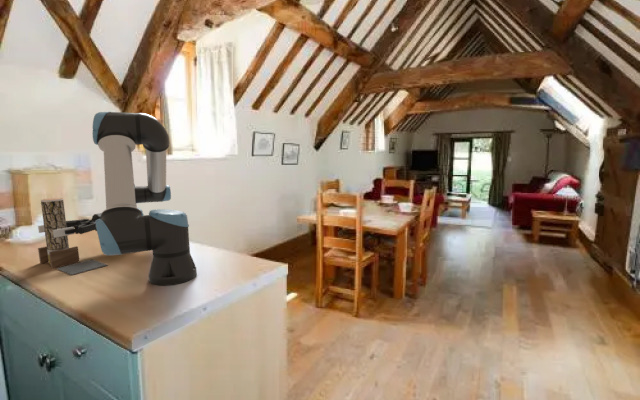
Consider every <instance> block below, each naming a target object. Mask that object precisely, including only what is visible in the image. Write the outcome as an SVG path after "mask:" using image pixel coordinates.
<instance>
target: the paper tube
mask: <svg viewBox="0 0 640 400" xmlns="http://www.w3.org/2000/svg"><path fill="white" fill-rule="evenodd" d="M40 204H41V206H40V207H41V212H42V220H43V221H42V222H43V225H44V230H45V232H44V236H45V245H46V246H47V253H48V260H49V262H48V264H49V265H51V263H50V255H49V252H53V251H57V250H62V249H67V248H70V245H69V235H66V236H61V237H55V238H54V235H53V230H57V229H63V228H67V227H66V221H67V220H66V211H65V203H64V197H50V198H42V199H40Z"/></svg>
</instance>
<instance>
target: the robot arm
mask: <svg viewBox="0 0 640 400" xmlns="http://www.w3.org/2000/svg"><path fill="white" fill-rule="evenodd" d="M92 140H93V141H92V142H93V143H94V144H95V145H97V146H98V148H99V150H101V151H102V152H103V166H104V167H103V168H104V171H103V172H104V188H105V190H104V191H105V192H104V193H105V209H104V210H102V212H99V213H94V214H93V215H92V217H91V219H89V218H82V219H74V220H73V219H72V220H66V227H67V228H63V229H57V230H53V235H54V238H55V237H61V236H66V235H68V236H71V235H75V234H76V235H78V234H80V235H84V234H86V233H89V232H94V231H95V232H96V233H97V234H96V235H97V237H98V238H97V239H98V242H99V245H100V249H101V252H102V253H103V254H104V255H105V256H118V255H119V256H121V255H126V254H133V253H141V252H142V253H144V252H149V251H152V261H151V264H150V268H149V272H148V282H149V283H151V284H152V285H157V286H171V285H178V284H182V283H185V282H188V281H191V280H192V279H194V278H196V277H197V276H198V274H197V273H198V272H197V271H198V270H197V266H196V264H195V261H194V260H193V257H192V255H191V254H192V253H191V250H190V247H191V246H190V236H189V227H190V224H189V221H188V220H189V218H188V215H187V213H186V212H184V211H181V210H177V209H167V208H164V209H163V208H162V209H161V208H157V209H150V210H149V212H148V215H147V214H146V215H144V213H143V209H142V208H139V207H137V204H143V203H144V204H146V203H162V202H167V201H170V200H171V199H172V195H171V194H172V193H171V187H170V185H168V184H167V150H168V149H169V148H170V137H169V134H168V131H167V129H166V128H165V126H164V125H163V124H162V123H161V122H160V120H158V119H157V118H156V117H154V116H152V115H150V114H148V113H144V112H119V111H118V112H116V111H115V112H113V111H100V112H97V113H95V114H94V117H93V120H92ZM137 145H141V146H143V148H144V149H145V159H146V177H147V185H144V186H143V185H140V186H138V185H137V186H136V185H135V178H134V168H133V156H132V152H134V150H136V147H137ZM37 228H38V233H39V234H40V233H41V234H42V233H45V230H44V224H41V225H37Z"/></svg>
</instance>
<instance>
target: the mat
mask: <svg viewBox="0 0 640 400" xmlns="http://www.w3.org/2000/svg"><path fill="white" fill-rule="evenodd" d="M107 266H108V264H107V263H104V262H102V261H98V260H95V259H88V260H83V261H80V262H76V263H72V264H68V265H64V266H60V267H56V270H58V271H60V272H63V273H65V274H67V275H70V276H75V275H78V274H81V273H85V272H89V271H93V270H97V269H100V268H104V267H107Z"/></svg>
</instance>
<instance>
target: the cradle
mask: <svg viewBox="0 0 640 400" xmlns="http://www.w3.org/2000/svg"><path fill="white" fill-rule="evenodd" d="M37 251H38V257H39V264H41V265H42V264H46V263H49V260H48V253H47V245H46V246H41V247H38V248H37ZM49 255H50V263H51V264H50V263H49V264H50V267H51V269H55V268H56V269H57V268H59V267H63V266H67V265H71V264H75V263H79V262H81V261H80V254H79V246H72V247H69V248H67V249H62V250H57V251H53V252H49Z"/></svg>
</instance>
